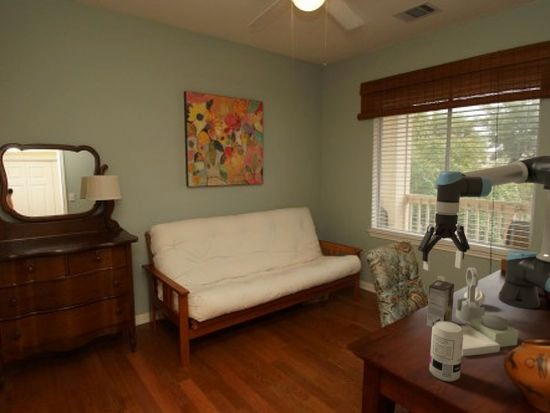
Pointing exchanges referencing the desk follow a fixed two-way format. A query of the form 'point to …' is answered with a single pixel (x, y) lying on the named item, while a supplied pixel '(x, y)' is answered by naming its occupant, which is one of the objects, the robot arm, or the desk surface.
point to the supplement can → (446, 350)
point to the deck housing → (487, 335)
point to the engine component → (470, 299)
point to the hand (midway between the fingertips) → (442, 268)
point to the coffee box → (440, 302)
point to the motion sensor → (478, 296)
